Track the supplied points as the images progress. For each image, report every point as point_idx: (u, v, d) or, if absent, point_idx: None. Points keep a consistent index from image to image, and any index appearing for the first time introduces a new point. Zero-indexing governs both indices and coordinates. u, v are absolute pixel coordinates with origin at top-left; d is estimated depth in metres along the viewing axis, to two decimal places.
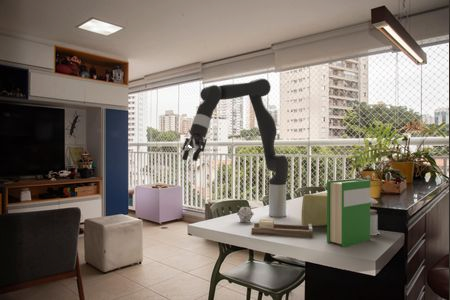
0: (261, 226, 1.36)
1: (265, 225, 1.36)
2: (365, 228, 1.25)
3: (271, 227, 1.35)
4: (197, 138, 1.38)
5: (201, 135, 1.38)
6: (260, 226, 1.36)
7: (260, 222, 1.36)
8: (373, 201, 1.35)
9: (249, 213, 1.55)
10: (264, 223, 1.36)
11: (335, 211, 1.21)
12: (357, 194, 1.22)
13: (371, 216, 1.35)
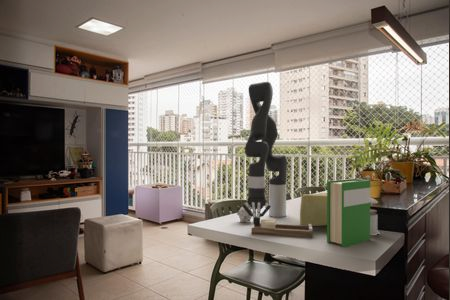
0: (263, 226, 1.36)
1: (267, 225, 1.36)
2: (365, 228, 1.25)
3: (273, 227, 1.35)
4: (263, 201, 1.38)
5: None
6: (262, 226, 1.36)
7: (262, 222, 1.36)
8: (373, 201, 1.35)
9: None
10: (266, 223, 1.36)
11: (335, 211, 1.21)
12: (357, 194, 1.22)
13: (371, 216, 1.35)
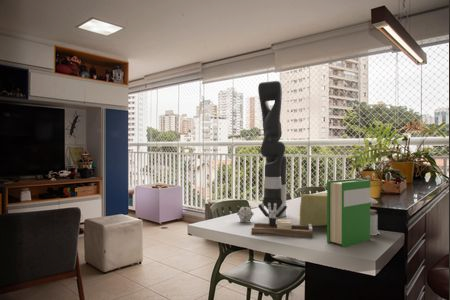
0: (279, 227, 1.35)
1: (283, 226, 1.34)
2: (365, 228, 1.25)
3: (289, 228, 1.34)
4: (279, 202, 1.37)
5: (281, 197, 1.37)
6: (278, 227, 1.35)
7: (278, 223, 1.35)
8: (373, 201, 1.35)
9: (249, 213, 1.55)
10: (282, 224, 1.34)
11: (335, 211, 1.21)
12: (357, 194, 1.22)
13: (371, 216, 1.35)
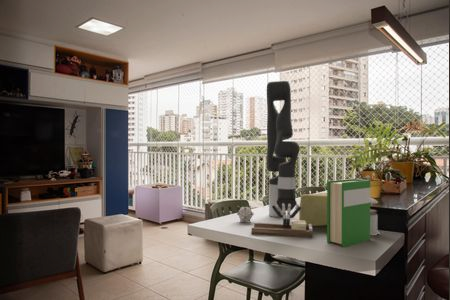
0: (293, 228, 1.33)
1: (298, 227, 1.33)
2: (365, 228, 1.25)
3: (304, 229, 1.32)
4: (293, 202, 1.35)
5: None
6: (292, 228, 1.33)
7: (292, 224, 1.34)
8: (373, 201, 1.35)
9: (249, 213, 1.55)
10: (297, 225, 1.33)
11: (335, 211, 1.21)
12: (357, 194, 1.22)
13: (371, 216, 1.35)
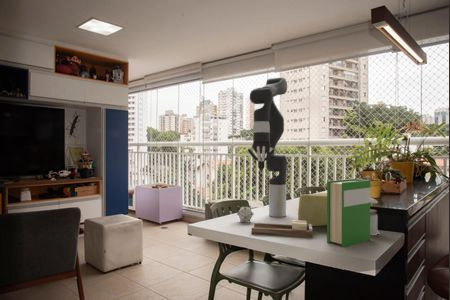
0: (294, 228, 1.33)
1: (298, 227, 1.33)
2: (365, 228, 1.25)
3: (305, 229, 1.32)
4: (267, 145, 1.44)
5: (269, 141, 1.44)
6: (293, 228, 1.33)
7: (293, 224, 1.33)
8: (373, 201, 1.35)
9: (249, 213, 1.55)
10: (297, 225, 1.33)
11: (335, 211, 1.21)
12: (357, 194, 1.22)
13: (371, 216, 1.35)
